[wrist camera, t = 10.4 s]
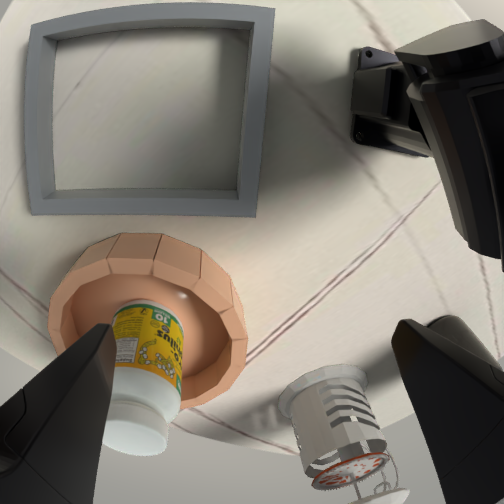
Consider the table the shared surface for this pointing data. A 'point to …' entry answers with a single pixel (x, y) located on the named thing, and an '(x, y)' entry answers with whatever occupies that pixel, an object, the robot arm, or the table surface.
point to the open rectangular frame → (145, 199)
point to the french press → (338, 431)
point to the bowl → (161, 291)
